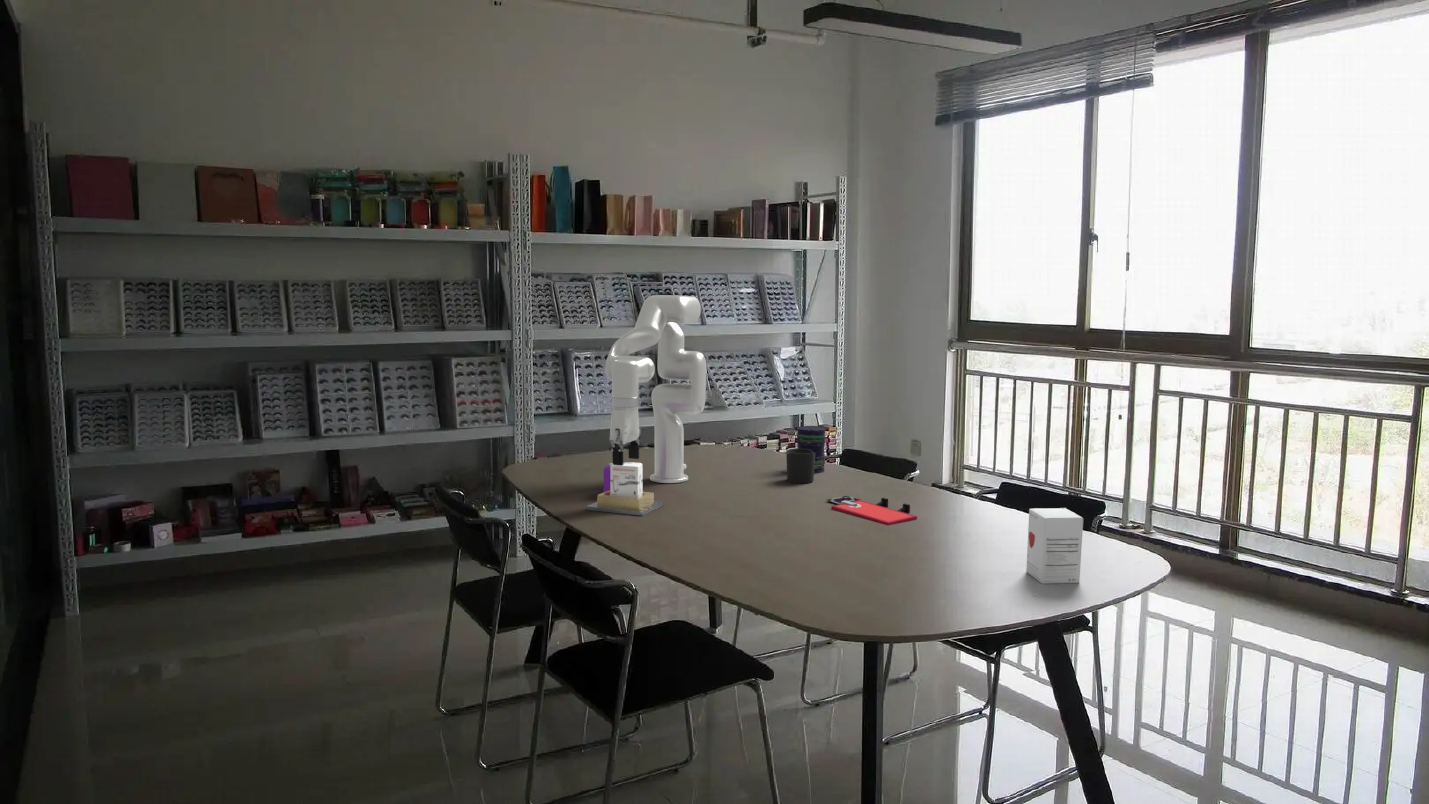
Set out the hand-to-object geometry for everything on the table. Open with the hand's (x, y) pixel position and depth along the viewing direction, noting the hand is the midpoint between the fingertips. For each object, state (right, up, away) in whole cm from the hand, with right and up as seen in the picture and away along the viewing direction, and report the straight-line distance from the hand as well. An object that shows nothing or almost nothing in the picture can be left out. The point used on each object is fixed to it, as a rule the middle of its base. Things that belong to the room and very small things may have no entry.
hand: (626, 461), depth 280 cm
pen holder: (+54, -9, +39) cm, 67 cm away
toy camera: (-2, -11, +19) cm, 23 cm away
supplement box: (+101, -22, -62) cm, 121 cm away
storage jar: (+59, -7, +57) cm, 82 cm away
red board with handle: (+70, -15, 0) cm, 71 cm away
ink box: (0, -13, +1) cm, 13 cm away
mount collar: (0, -13, +1) cm, 13 cm away
